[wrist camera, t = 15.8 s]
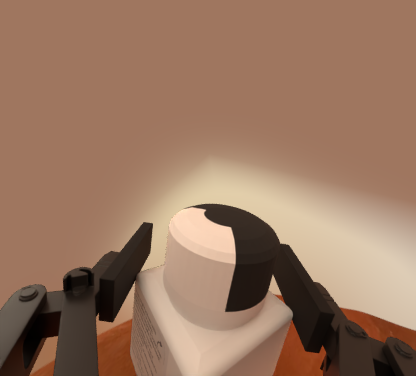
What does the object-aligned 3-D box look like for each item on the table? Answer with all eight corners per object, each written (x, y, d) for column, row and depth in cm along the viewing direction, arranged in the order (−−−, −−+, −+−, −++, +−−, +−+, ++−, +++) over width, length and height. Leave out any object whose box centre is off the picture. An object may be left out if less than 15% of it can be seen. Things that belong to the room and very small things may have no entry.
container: (206, 312, 20) (230, 192, 17) (268, 394, 15) (322, 236, 11) (128, 353, 16) (139, 198, 12) (173, 497, 10) (217, 280, 6)
